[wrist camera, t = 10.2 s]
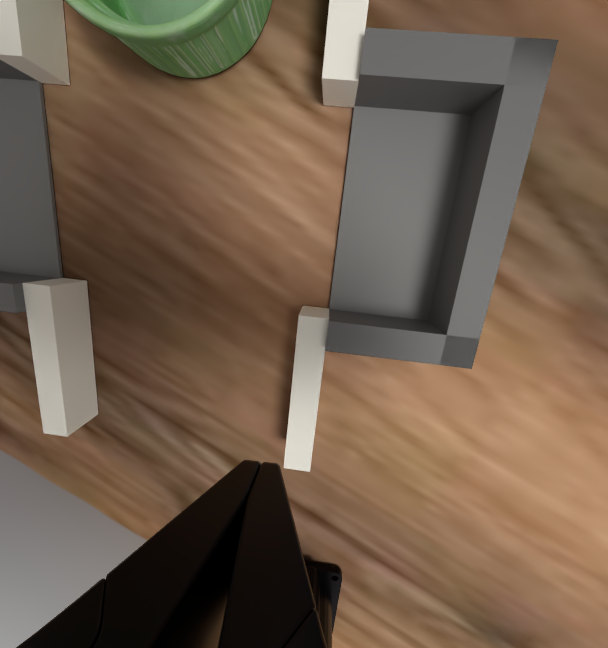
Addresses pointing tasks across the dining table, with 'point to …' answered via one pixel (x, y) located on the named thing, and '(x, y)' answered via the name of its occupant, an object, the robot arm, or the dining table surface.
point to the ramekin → (181, 30)
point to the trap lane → (356, 213)
